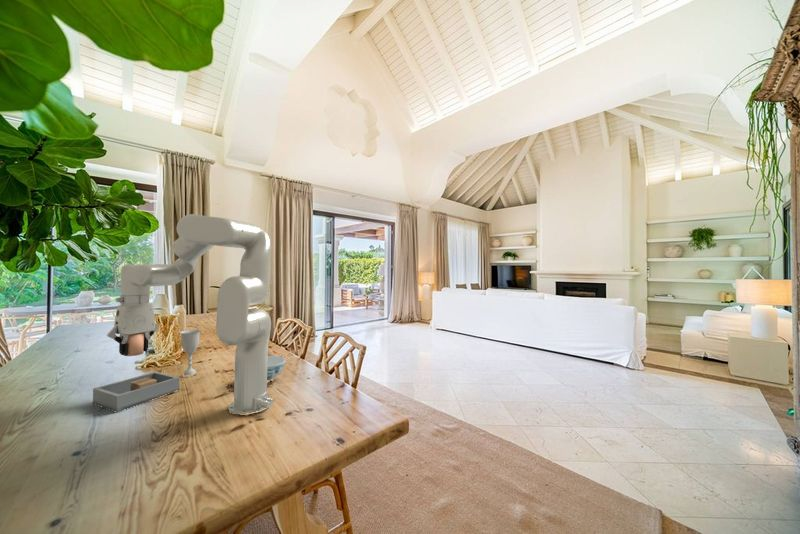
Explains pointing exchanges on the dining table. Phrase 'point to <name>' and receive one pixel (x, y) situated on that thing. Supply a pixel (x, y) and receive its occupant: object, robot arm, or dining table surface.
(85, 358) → the dining table surface
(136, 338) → the terracotta cylinder
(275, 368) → the chinaware
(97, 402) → the tray
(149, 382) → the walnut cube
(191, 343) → the chalice
